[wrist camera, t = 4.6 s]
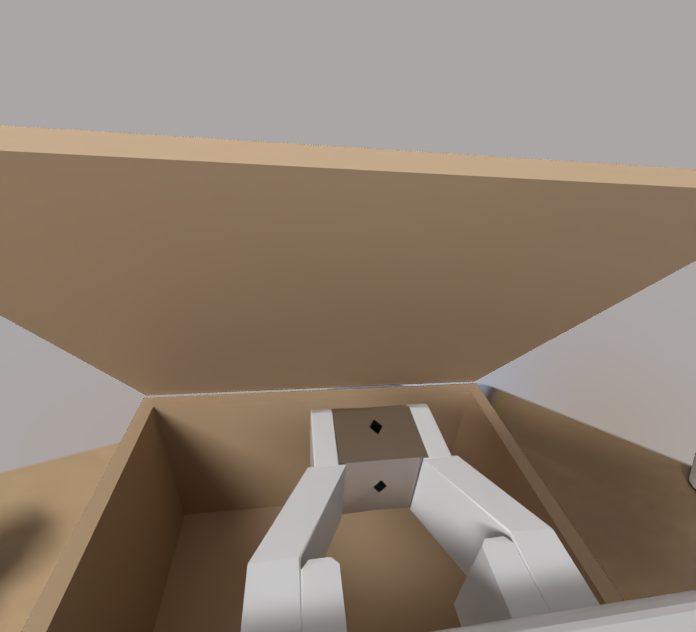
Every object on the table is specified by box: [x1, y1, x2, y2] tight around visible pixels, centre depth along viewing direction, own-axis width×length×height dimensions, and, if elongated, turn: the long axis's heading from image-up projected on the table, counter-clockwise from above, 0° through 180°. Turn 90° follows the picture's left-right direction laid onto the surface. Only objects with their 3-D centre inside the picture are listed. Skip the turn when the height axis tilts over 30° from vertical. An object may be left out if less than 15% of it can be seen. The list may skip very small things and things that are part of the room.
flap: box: [0, 125, 696, 395], centre depth 15 cm, size 18×22×1 cm
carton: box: [22, 383, 624, 632], centre depth 18 cm, size 18×22×12 cm
